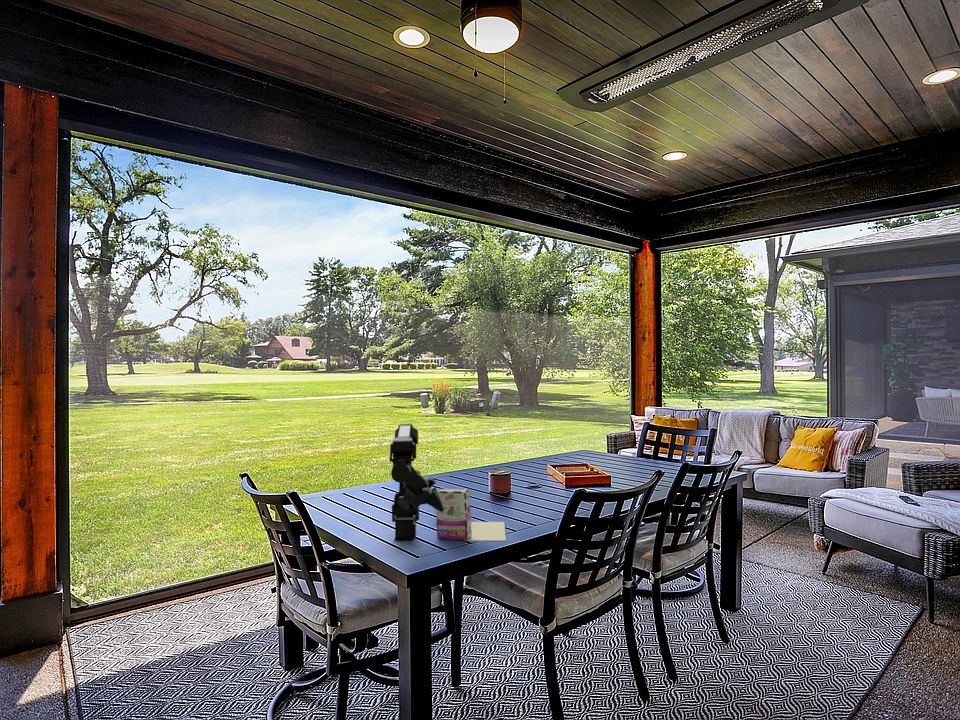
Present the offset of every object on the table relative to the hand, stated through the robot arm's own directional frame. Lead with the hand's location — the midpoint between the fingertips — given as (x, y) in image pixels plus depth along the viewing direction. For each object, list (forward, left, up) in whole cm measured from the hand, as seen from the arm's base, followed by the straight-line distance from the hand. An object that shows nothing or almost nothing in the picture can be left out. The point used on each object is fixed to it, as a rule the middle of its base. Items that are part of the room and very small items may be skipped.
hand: (442, 510), depth 183 cm
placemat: (+13, +20, -13) cm, 27 cm away
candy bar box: (+3, +12, -13) cm, 18 cm away
